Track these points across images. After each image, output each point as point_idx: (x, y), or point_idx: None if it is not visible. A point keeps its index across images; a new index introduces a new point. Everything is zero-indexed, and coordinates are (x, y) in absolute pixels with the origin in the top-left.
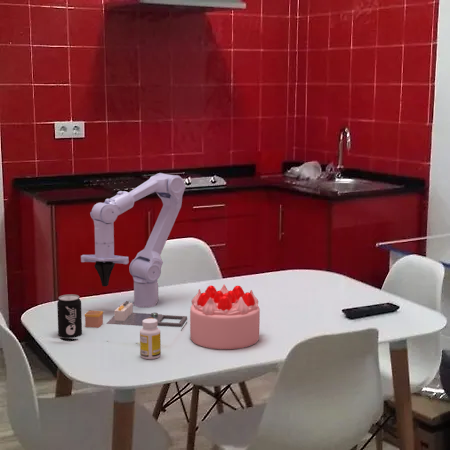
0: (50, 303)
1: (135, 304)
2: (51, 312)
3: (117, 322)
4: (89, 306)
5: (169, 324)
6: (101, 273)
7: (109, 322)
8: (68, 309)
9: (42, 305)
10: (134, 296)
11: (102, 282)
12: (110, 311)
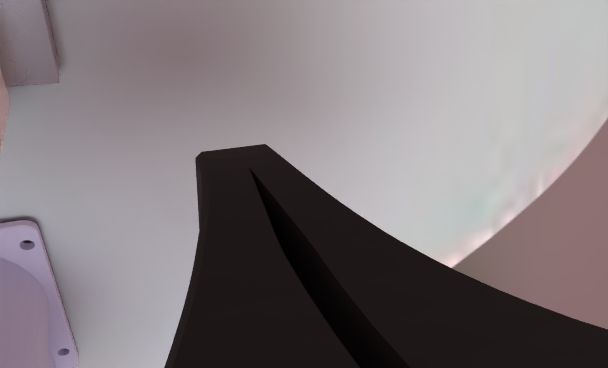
0: (556, 174)
1: (3, 278)
2: (564, 22)
3: None
4: (354, 197)
5: None
6: (367, 280)
7: None
8: None
9: (595, 133)
10: (15, 337)
11: (278, 170)
12: (181, 150)
